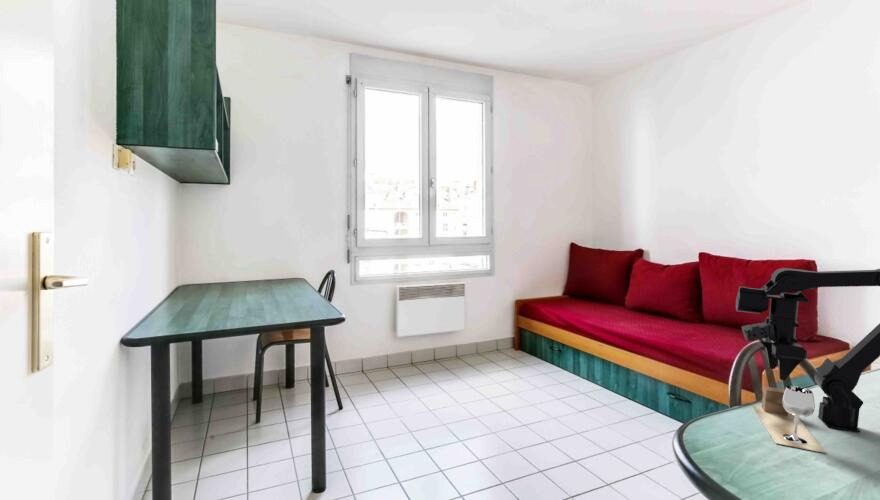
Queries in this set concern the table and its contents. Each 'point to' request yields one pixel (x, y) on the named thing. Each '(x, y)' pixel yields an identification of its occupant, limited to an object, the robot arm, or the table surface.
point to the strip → (783, 421)
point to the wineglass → (797, 408)
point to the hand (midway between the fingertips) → (776, 374)
